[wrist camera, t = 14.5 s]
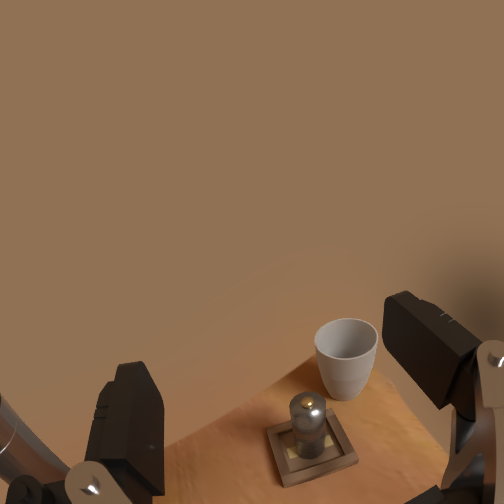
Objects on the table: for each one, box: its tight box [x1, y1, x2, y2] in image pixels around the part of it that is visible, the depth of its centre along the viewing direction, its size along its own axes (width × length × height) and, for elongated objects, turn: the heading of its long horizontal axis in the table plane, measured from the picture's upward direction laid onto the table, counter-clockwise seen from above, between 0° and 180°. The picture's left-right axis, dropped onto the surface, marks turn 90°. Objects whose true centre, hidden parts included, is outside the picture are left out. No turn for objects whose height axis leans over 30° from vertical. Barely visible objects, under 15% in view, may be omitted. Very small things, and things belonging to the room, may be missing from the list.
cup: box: [315, 318, 378, 401], centre depth 36 cm, size 8×8×10 cm
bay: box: [266, 408, 359, 488], centre depth 30 cm, size 9×9×1 cm
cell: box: [289, 392, 326, 459], centre depth 28 cm, size 4×4×10 cm
